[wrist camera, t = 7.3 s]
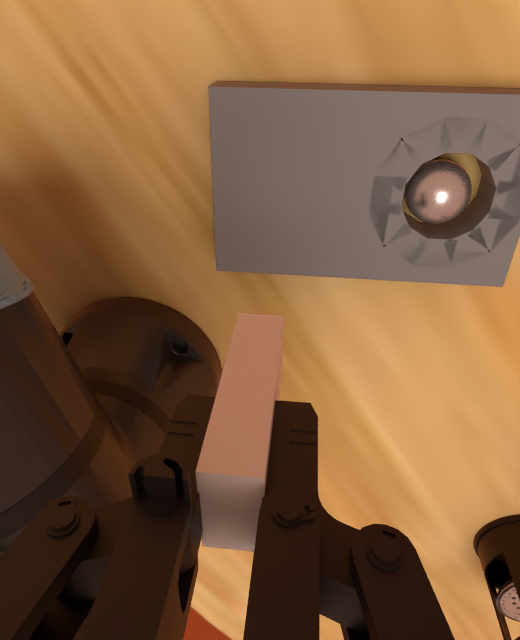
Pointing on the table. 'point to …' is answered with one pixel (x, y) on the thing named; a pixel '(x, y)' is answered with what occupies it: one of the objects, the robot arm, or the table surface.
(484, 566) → the french press
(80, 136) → the table surface
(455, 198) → the ball
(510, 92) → the plate
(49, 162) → the table surface
